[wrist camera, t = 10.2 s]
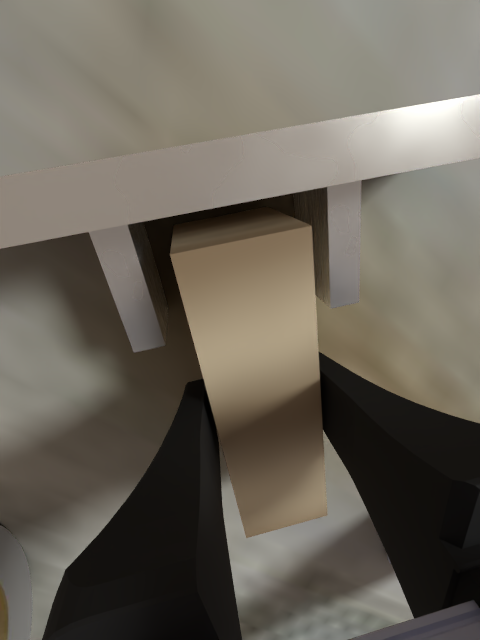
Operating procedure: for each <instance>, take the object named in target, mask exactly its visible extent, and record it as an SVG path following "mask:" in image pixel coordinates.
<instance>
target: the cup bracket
mask: <svg viewBox="0 0 480 640" xmlns="http://www.w3.org/2000/svg"><path fill="white" fill-rule="evenodd" d="M476 158H480V94H479V95H474V96H468V97H462V98H456V99H450V100H444V101H439V102H433V103H427V104H421V105H415V106H409V107H404V108H398V109H392V110H386V111H380V112H374V113H369V114H363V115H357V116H351V117H345V118H339V119H334V120H328V121H322V122H316V123H310V124H304V125H299V126H293V127H287V128H281V129H275V130H269V131H264V132H258V133H252V134H246V135H240V136H235V137H229V138H223V139H217V140H211V141H205V142H200V143H194V144H188V145H182V146H176V147H170V148H165V149H159V150H153V151H147V152H141V153H135V154H130V155H124V156H118V157H112V158H106V159H100V160H95V161H89V162H83V163H77V164H71V165H65V166H60V167H54V168H48V169H42V170H36V171H30V172H25V173H19V174H13V175H7V176H1V177H0V249H1V248H7V247H12V246H17V245H23V244H28V243H33V242H38V241H44V240H49V239H54V238H59V237H65V236H70V235H75V234H81V233H86V232H89V234H90V237H91V239H92V242H93V245H94V248H95V250H96V253H97V256H98V258H99V261H100V264H101V266H102V269H103V272H104V274H105V277H106V280H107V282H108V285H109V288H110V290H111V293H112V296H113V298H114V301H115V304H116V306H117V309H118V312H119V314H120V317H121V320H122V322H123V325H124V328H125V330H126V333H127V336H128V338H129V341H130V344H131V346H132V349H133V352H134V353H135V352H139V351H144V350H148V349H153V348H157V347H162V346H166V334H167V323H168V311H169V307H168V304H167V300H166V297H165V294H164V290H163V287H162V283H161V280H160V276H159V273H158V269H157V266H156V263H155V259H154V256H153V252H152V249H151V245H150V242H149V239H148V235H147V232H146V228H145V225H144V221H149V220H154V219H160V218H165V217H170V216H175V215H181V214H186V213H191V212H196V211H202V210H207V209H212V208H217V207H223V206H228V205H233V204H239V203H244V202H249V201H254V200H260V199H265V198H270V197H275V196H281V195H286V194H291V193H293V195H294V209H295V219H297V220H300V221H302V222H304V223H307V224H309V225H311V226H312V241H313V259H314V278H315V295H316V296H317V297H319V298H320V299H321V300H322V301H323V302H324V303H325V304H326V305H327V306H328V307H329V308H330V309H331V308H336V307H340V306H345V305H349V304H354V303H358V302H359V280H360V228H361V180H365V179H370V178H376V177H381V176H386V175H391V174H397V173H402V172H407V171H412V170H418V169H423V168H428V167H434V166H439V165H444V164H449V163H455V162H460V161H465V160H470V159H476Z"/></svg>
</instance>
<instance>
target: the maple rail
mask: <svg viewBox="0 0 480 640" xmlns="http://www.w3.org/2000/svg"><path fill="white" fill-rule="evenodd" d="M170 257H171V260H172V264H173V268H174V271H175V275H176V279H177V282H178V286H179V290H180V294H181V297H182V301H183V305H184V308H185V312H186V316H187V320H188V323H189V327H190V331H191V334H192V338H193V342H194V345H195V349H196V353H197V357H198V360H199V364H200V368H201V371H202V375H203V379H204V383H205V386H206V390H207V394H208V397H209V401H210V405H211V408H212V412H213V416H214V420H215V423H216V427H217V431H218V434H219V438H220V442H221V446H222V449H223V453H224V457H225V460H226V464H227V468H228V471H229V475H230V479H231V483H232V486H233V490H234V494H235V497H236V501H237V505H238V509H239V512H240V516H241V520H242V523H243V527H244V531H245V534H246V538H248V537H252V536H255V535H259V534H262V533H266V532H270V531H273V530H277V529H280V528H284V527H287V526H291V525H294V524H298V523H302V522H305V521H309V520H312V519H316V518H319V517H323V516H326V515H327V500H326V481H325V463H324V444H323V426H322V407H321V389H320V370H319V352H318V333H317V315H316V296H315V278H314V259H313V241H312V226H311V225H309V224H307V223H304V222H302V221H300V220H297V219H295V218H293V217H290V216H288V215H286V214H283V213H281V212H279V211H277V210H274V209H272V208H270V207H263V208H258V209H253V210H247V211H242V212H237V213H232V214H227V215H222V216H217V217H212V218H207V219H202V220H197V221H191V222H186V223H181V224H176V225H174V227H173V235H172V243H171V250H170Z"/></svg>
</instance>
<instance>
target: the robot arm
mask: <svg viewBox="0 0 480 640" xmlns="http://www.w3.org/2000/svg"><path fill="white" fill-rule="evenodd" d="M319 370H320V389H321V407H322V426H323V430H324V432H325V434H326V435H327V437H328V439H329V440H330V442H331V444H332V445H333V447H334V449H335V450H336V452H337V454H338V455H339V457H340V459H341V460H342V462H343V464H344V465H345V467H346V469H347V470H348V472H349V474H350V476H351V478H352V479H353V481H354V483H355V485H356V488H357V490H358V492H359V494H360V496H361V498H362V500H363V502H364V504H365V506H366V508H367V511H368V513H369V515H370V517H371V519H372V522H373V524H374V526H375V528H376V530H377V532H378V535H379V537H380V539H381V541H382V544H383V546H384V548H385V550H386V553H387V555H388V556H387V558H388V561H389V562H390V564H392V566H393V569H394V571H395V573H396V576H397V578H398V580H399V583H400V585H401V588H402V590H403V592H404V595H405V597H406V600H407V602H408V604H409V607H410V609H411V612H412V614H413V617H414V619H412V620H408V621H405V622H402V623H399V624H396V625H393V626H389V627H386V628H383V629H380V630H377V631H374V632H371V633H367V634H364V635H361V636H358V637H355V638H352V639H348V640H480V424H479V423H476V422H472V421H468V420H465V419H461V418H458V417H455V416H451V415H448V414H445V413H442V412H439V411H437V410H434V409H431V408H428V407H425V406H422V405H420V404H417V403H415V402H412V401H410V400H407V399H405V398H403V397H400V396H398V395H396V394H393V393H391V392H389V391H387V390H385V389H383V388H381V387H379V386H377V385H375V384H373V383H371V382H369V381H367V380H366V379H364V378H362V377H360V376H358V375H357V374H355V373H353V372H351V371H350V370H348V369H346V368H345V367H343V366H341V365H340V364H338V363H336V362H335V361H333V360H332V359H330V358H328V357H327V356H325V355H324V354H322V353H320V352H319ZM42 640H242V636H241V630H240V624H239V618H238V611H237V605H236V598H235V592H234V585H233V579H232V572H231V566H230V559H229V552H228V545H227V538H226V531H225V525H224V518H223V508H222V493H221V475H220V457H219V442H218V436H217V430H216V424H215V420H214V416H213V412H212V408H211V405H210V401H209V397H208V394H207V390H206V386H205V383H204V379H200V380H196V381H192V382H188V383H187V385H186V387H185V390H184V394H183V397H182V400H181V402H180V405H179V408H178V410H177V413H176V415H175V418H174V420H173V422H172V425H171V427H170V429H169V431H168V433H167V435H166V437H165V439H164V441H163V443H162V445H161V447H160V449H159V451H158V453H157V454H156V456H155V458H154V460H153V461H152V463H151V464H150V466H149V468H148V469H147V471H146V473H145V474H144V476H143V477H142V478H141V480H140V481H139V483H138V484H137V486H136V487H135V489H134V490H133V492H132V493H131V494H130V496H129V497H128V499H127V500H126V501H125V503H124V504H123V505H122V506H121V508H120V509H119V510H118V511H117V513H116V514H115V515H114V516H113V518H112V519H111V520H110V521H109V523H108V524H107V525H106V526H105V528H104V529H103V530H102V531H101V532H100V533H99V535H98V536H97V537H96V538H95V539H94V540H93V541H92V542H91V543H90V544H89V545H88V546H87V548H86V549H85V550H84V551H83V552H82V553H81V554H80V555H79V556H78V557H77V558H76V559H75V560H74V562H73V563H72V564H71V565H70V566H69V567H68V568H67V569H66V570H65V573H64V575H63V578H62V581H61V583H60V586H59V588H58V590H57V593H56V596H55V599H54V602H53V605H52V608H51V611H50V615H49V618H48V622H47V625H46V628H45V632H44V635H43V639H42Z"/></svg>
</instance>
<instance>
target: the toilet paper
mask: <svg viewBox="0 0 480 640" xmlns="http://www.w3.org/2000/svg"><path fill="white" fill-rule="evenodd" d="M31 625H32V585H31V577H30V571H29V566H28V562H27V559H26V556H25V553H24V551H23V549H22V547H21V545H20V544H19V542H18V541H17V540H16V539H15V538H14V536H13V535H12V534H11V533H10V531H9V530H7V529H6V528H4V527H3V526H1V525H0V640H30V634H31Z"/></svg>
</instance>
